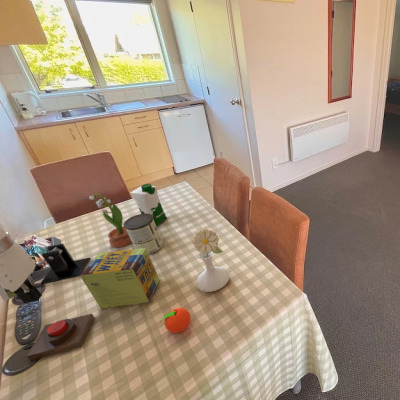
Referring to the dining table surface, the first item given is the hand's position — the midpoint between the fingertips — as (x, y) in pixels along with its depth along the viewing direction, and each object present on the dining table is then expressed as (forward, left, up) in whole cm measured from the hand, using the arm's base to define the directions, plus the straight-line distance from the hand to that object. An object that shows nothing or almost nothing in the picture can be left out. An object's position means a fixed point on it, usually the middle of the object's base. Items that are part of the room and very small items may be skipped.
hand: (33, 299), depth 71 cm
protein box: (+15, +12, -17) cm, 26 cm away
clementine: (+32, -8, -17) cm, 37 cm away
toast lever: (-14, +32, -11) cm, 37 cm away
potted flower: (+4, +46, -17) cm, 49 cm away
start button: (0, 0, -13) cm, 13 cm away
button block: (0, 0, -17) cm, 17 cm away
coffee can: (+16, +38, -17) cm, 45 cm away
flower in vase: (+43, +7, -17) cm, 47 cm away
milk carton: (+15, +59, -17) cm, 63 cm away
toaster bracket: (-11, +32, -17) cm, 38 cm away
